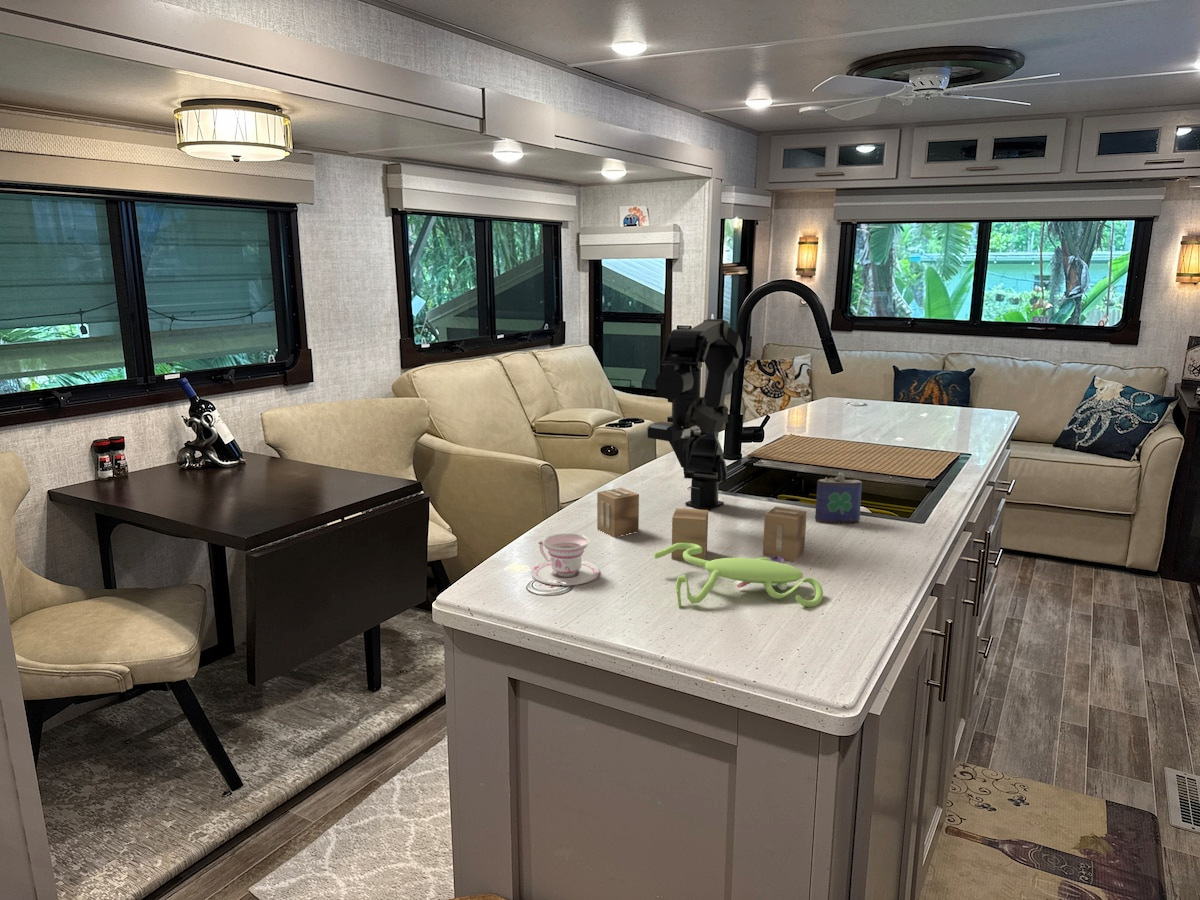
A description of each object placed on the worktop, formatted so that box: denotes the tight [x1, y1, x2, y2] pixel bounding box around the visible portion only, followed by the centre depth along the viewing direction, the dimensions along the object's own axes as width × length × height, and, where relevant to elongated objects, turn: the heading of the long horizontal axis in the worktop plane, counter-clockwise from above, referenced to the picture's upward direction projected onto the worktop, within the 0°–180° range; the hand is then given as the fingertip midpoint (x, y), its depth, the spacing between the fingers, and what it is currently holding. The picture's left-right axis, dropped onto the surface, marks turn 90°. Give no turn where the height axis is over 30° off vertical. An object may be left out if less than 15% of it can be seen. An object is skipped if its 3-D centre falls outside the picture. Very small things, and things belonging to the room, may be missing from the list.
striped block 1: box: [596, 487, 640, 538], centre depth 165 cm, size 6×6×8 cm
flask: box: [814, 472, 863, 525], centre depth 171 cm, size 9×3×11 cm, turn 88°
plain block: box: [671, 507, 709, 561], centre depth 151 cm, size 6×6×8 cm
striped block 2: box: [762, 506, 807, 562], centre depth 152 cm, size 6×6×8 cm
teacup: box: [530, 533, 601, 587], centre depth 142 cm, size 12×12×6 cm
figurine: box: [653, 543, 824, 609], centre depth 137 cm, size 18×27×6 cm
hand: (684, 467), depth 168 cm, fingers closed
